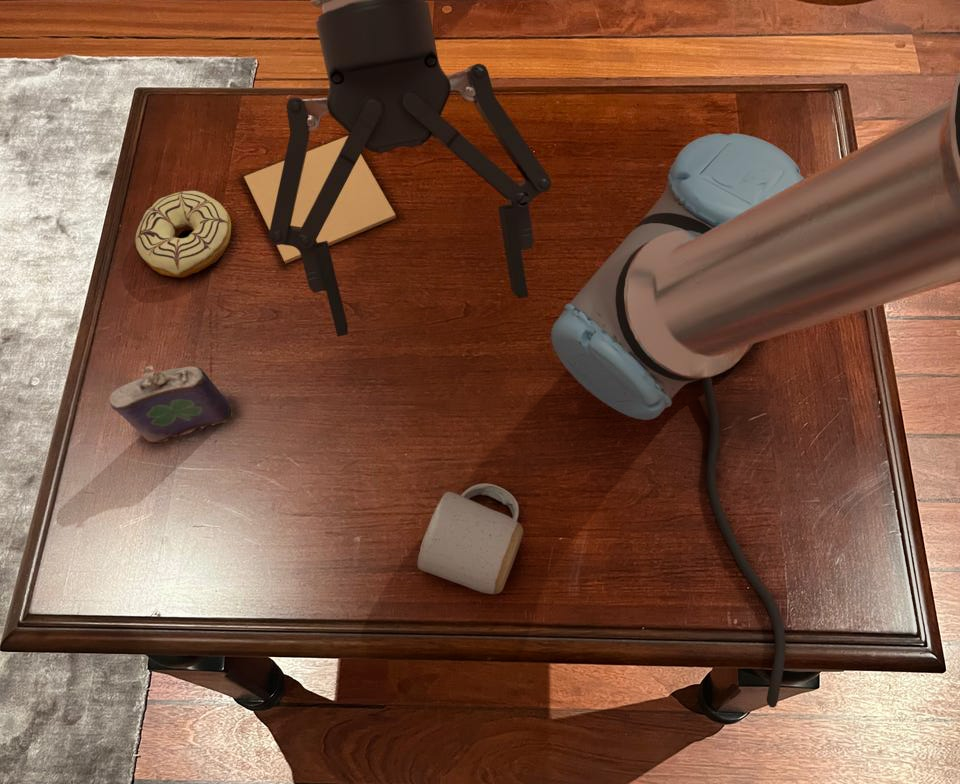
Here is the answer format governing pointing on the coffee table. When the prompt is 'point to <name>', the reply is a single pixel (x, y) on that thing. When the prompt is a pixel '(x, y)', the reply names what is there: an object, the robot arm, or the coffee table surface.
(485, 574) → the ceramic mug
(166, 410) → the flask
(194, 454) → the coffee table surface
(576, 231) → the coffee table surface
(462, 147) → the robot arm
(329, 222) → the cork mat
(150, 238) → the decorated donut
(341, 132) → the coffee table surface
